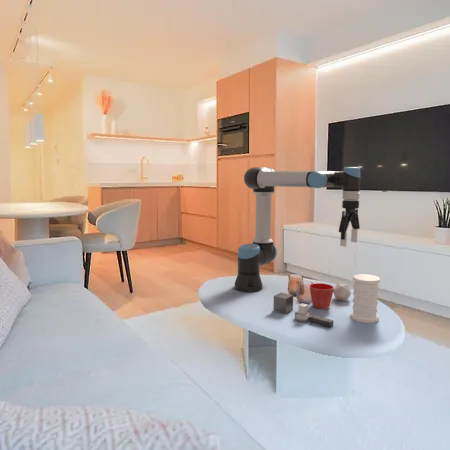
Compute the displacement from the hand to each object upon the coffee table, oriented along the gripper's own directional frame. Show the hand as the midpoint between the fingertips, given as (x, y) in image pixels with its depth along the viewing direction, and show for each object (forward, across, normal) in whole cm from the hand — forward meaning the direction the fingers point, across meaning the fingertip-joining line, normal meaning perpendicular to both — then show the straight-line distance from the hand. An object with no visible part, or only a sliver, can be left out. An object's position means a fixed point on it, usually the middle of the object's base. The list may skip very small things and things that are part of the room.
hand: (348, 244), depth 186 cm
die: (+28, 0, +2) cm, 28 cm away
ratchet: (+28, -35, 0) cm, 45 cm away
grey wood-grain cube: (+28, -31, +17) cm, 45 cm away
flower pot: (+28, -15, +6) cm, 33 cm away
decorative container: (+28, -17, -15) cm, 36 cm away
